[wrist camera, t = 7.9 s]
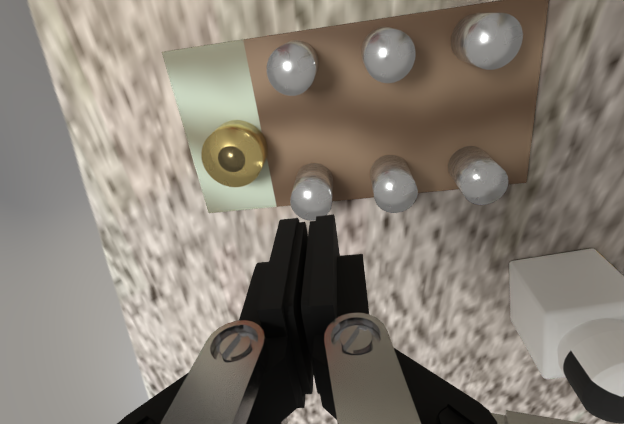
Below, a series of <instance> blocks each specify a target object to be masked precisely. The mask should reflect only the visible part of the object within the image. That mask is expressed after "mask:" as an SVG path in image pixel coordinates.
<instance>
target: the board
mask: <svg viewBox="0 0 624 424" xmlns="http://www.w3.org/2000/svg"><path fill="white" fill-rule="evenodd" d="M548 1H549V0H500V1H494V2H487V3H481V4H474V5H467V6H461V7H454V8H448V9H441V10H435V11H428V12H421V13H415V14H408V15H402V16H395V17H388V18H382V19H375V20H369V21H362V22H356V23H349V24H342V25H336V26H329V27H323V28H316V29H309V30H303V31H296V32H290V33H283V34H277V35H270V36H263V37H257V38H250V39H244V40H237V41H231V42H224V43H217V44H211V45H204V46H198V47H191V48H184V49H178V50H171V51H165V52H162V55H163V58H164V62H165V65H166V69H167V72H168V75H169V79H170V82H171V86H172V89H173V92H174V96H175V99H176V103H177V106H178V110H179V113H180V116H181V120H182V123H183V127H184V130H185V134H186V137H187V140H188V144H189V147H190V151H191V154H192V158H193V161H194V164H195V168H196V171H197V175H198V178H199V182H200V185H201V188H202V192H203V195H204V199H205V202H206V206H207V209H208V212H209V213H216V212H227V211H237V210H247V209H258V208H268V207H278V206H289V205H291V203H290V199H291V194H292V191H293V187H294V183H295V179H296V176H297V173H298V171H299V170H300V169H301V168H302V167H303V166H305V165H307V164H310V163H318V164H321V165H323V166H325V167H326V168H328V170H329V171H330V172H331V174H332V177H333V190H332V201H340V200H351V199H361V198H371V197H374V193H373V188H372V182H371V177H370V170H371V167H372V165H373V163H374V162H375V161H376V160H377V159H379V158H380V157H382V156H385V155H396V156H399V157H401V158H402V159H403V160H404V161H405V162H406V163H407V166H408V168H409V170H410V172H411V175H412V177H413V179H414V181H415V184H416V186H417V190H418V193H423V192H433V191H444V190H454V189H459V187H458V186H457V185H456V183H455V182H454V180H453V179H452V177H451V176H450V174H449V172H448V163H449V160H450V158H451V156H452V155H453V154H454V153H455V152H456V151H457V150H459V149H461V148H463V147H466V146H476V147H479V148H481V149H482V150H483V151H485V152H486V153H487V154H488V155H489V156H490V157H491V158H492V159H493V160H494V161H495V162H496V163H497V164H498V165H499V166H500V167H501V168H502V169H503V170H504V171H505V172H506V174H507V176H508V184H516V183H526V181H527V173H528V165H529V157H530V149H531V141H532V132H533V124H534V116H535V108H536V100H537V91H538V83H539V75H540V67H541V59H542V50H543V42H544V34H545V26H546V18H547V9H548ZM474 13H506V14H509V15H512V16H513V17H515V18H516V19H517V20H518V21H519V23H520V25H521V27H522V32H523V39H522V44H521V47H520V49H519V51H518V53H517V55H516V56H515V57H514V58H513V59H512V60H511V61H510V62H509V63H508V64H506V65H505V66H503V67H501V68H498V69H494V70H486V69H482V68H480V67H477V66H475V65H472V64H469V63H467V62H464V61H462V60H460V59H458V58H457V57H456V56H455V55H454V53H453V51H452V48H451V35H452V32H453V30H454V28H455V26H456V25H457V24H458V23H459V21H460V20H462V19H463V18H464V17H466V16H468V15H470V14H474ZM380 27H389V28H393V29H397V30H400V31H402V32H404V33H406V34H407V35H408V36H409V37H410V38H411V40H412V42H413V44H414V47H415V61H414V64H413V67H412V69H411V70H410V72H409V73H408V74H407V75H406V76H405V77H404V78H402V79H401V80H399V81H397V82H394V83H382V82H379V81H377V80H375V79H374V78H373V77H372V76H371V75H370V74H369V73H368V71H367V69H366V67H365V65H364V63H363V60H362V57H361V48H362V44H363V42H364V40H365V38H366V37H367V35H368V34H369V33H370V32H372V31H373V30H375V29H377V28H380ZM293 40H301V41H304V42H306V43H308V44H309V45H311V46H312V47H313V49H314V50H315V52H316V54H317V57H318V70H317V73H316V75H315V78H314V80H313V82H312V84H311V86H310V87H309V88H308V89H307V90H306V91H305V92H304V93H302V94H299V95H296V96H288V95H284V94H281V93H280V92H278V91H277V90H276V89H274V87H273V86H272V85H271V83H270V82H269V79H268V76H267V62H268V59H269V57H270V55H271V54H272V52H273V51H274V50H275V49H277V48H278V47H280V46H282V45H284V44H286V43H287V42H290V41H293ZM231 120H242V121H246V122H248V123H251V124H252V125H254V126H255V127H257V128H258V129H259V130H260V131H261V133H262V134H263V135H264V137H265V139H266V142H267V146H268V155H267V159H266V161H265V163H264V165H263V167H262V169H261V171H260V173H259V175H258V176H257V178H256V179H255V180H254V181H253V182H251V183H250V184H248V185H246V186H242V187H228V186H225V185H222V184H220V183H218V182H217V181H215V180H214V179H213V178H212V177H211V176H210V175H209V174H208V173H207V171H206V170H205V168H204V166H203V163H202V158H201V151H202V146H203V144H204V142H205V140H206V139H207V138H208V137H209V136H210V135H211V134H212V133H213V132H214V131H215V130H216V129H217V128H218V127H219V126H220V125H222V124H223V123H225V122H228V121H231Z"/></svg>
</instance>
